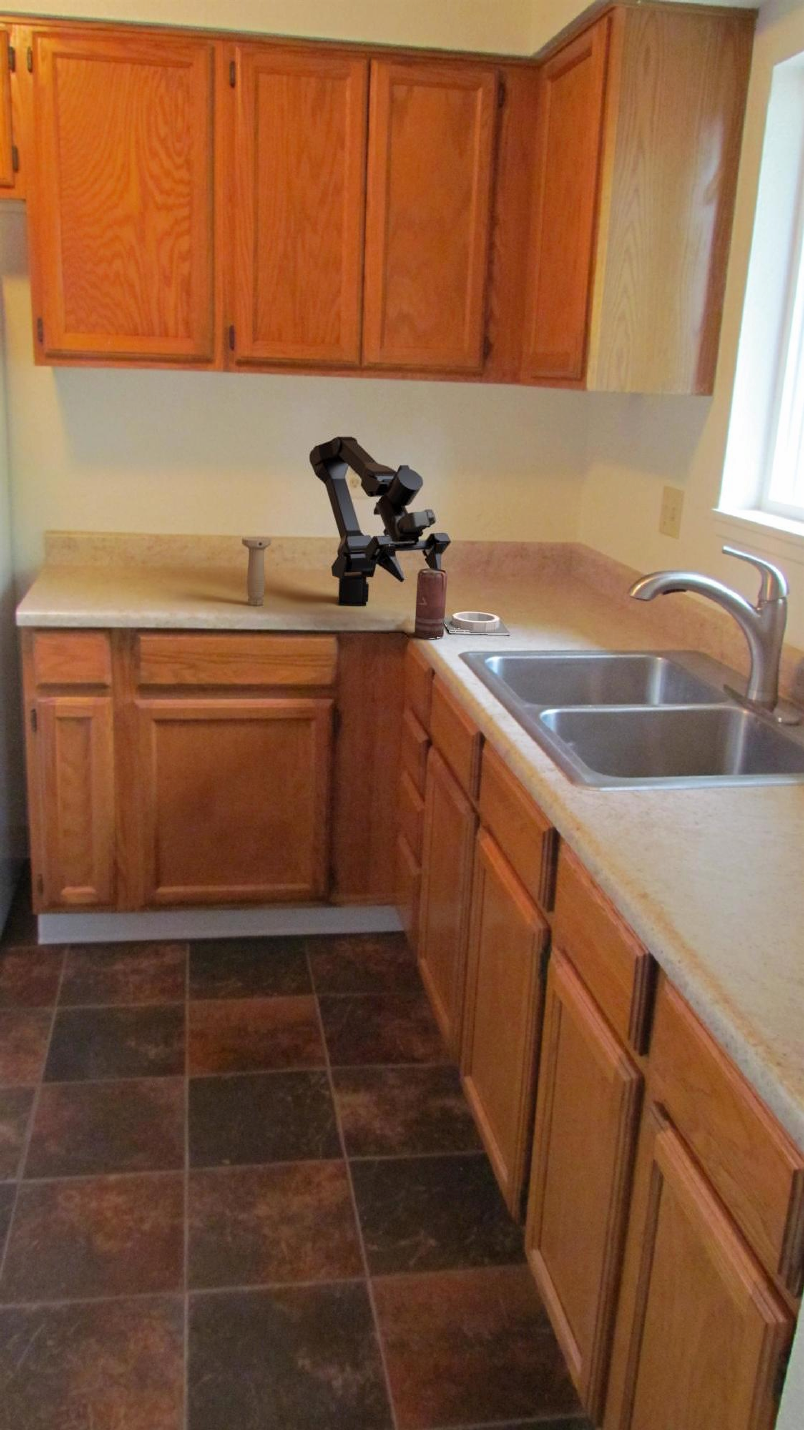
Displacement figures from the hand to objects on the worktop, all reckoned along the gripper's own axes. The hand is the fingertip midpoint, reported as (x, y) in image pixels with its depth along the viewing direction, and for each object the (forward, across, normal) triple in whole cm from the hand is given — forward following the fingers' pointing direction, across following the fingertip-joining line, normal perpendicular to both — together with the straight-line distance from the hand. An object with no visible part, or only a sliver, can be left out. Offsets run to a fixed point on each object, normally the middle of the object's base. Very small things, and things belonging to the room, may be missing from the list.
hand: (421, 579), depth 253 cm
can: (+11, 0, +5) cm, 12 cm away
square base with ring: (+9, +14, +7) cm, 18 cm away
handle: (-17, -22, +32) cm, 42 cm away
